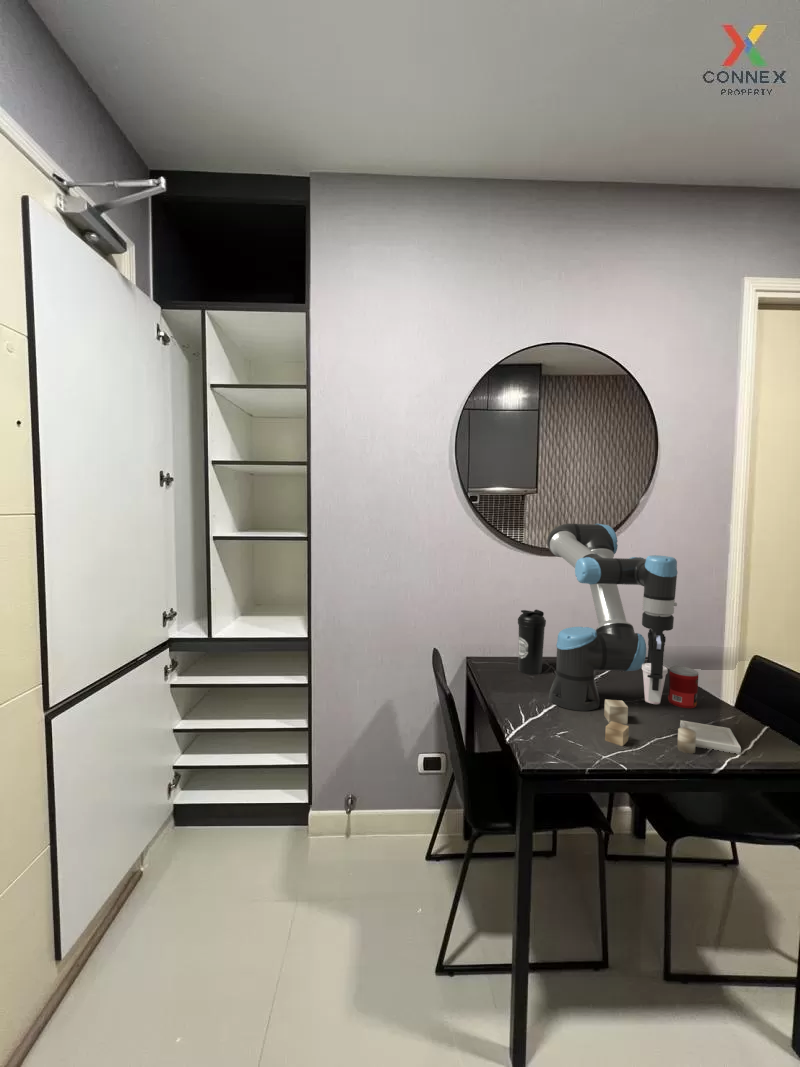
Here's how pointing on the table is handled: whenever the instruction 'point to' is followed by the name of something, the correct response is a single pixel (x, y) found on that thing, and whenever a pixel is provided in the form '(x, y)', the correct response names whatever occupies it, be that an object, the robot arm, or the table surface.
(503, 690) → the table surface
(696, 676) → the canned food
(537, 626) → the water bottle
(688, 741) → the birch dowel
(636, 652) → the robot arm
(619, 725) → the oak block
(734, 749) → the tray
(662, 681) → the smoothie
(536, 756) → the table surface
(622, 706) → the birch cube
